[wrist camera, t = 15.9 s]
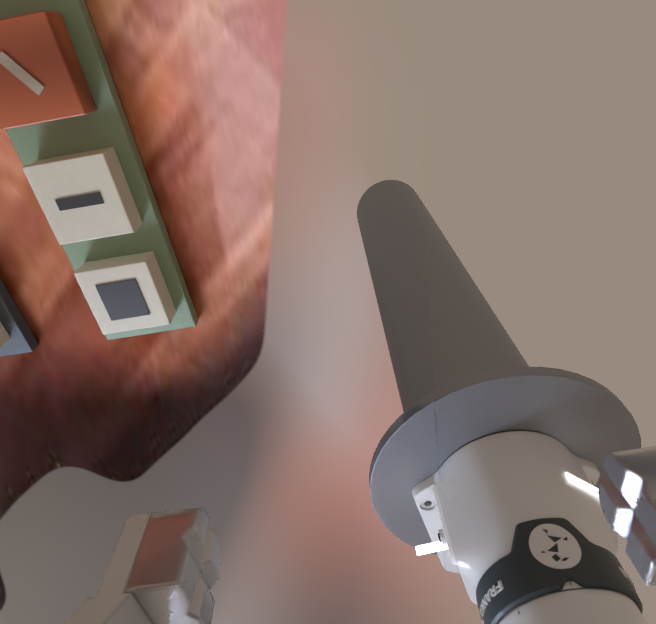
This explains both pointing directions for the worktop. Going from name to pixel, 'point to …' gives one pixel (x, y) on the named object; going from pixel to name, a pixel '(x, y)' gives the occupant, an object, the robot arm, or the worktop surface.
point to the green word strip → (99, 136)
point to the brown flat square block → (40, 72)
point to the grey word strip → (13, 327)
